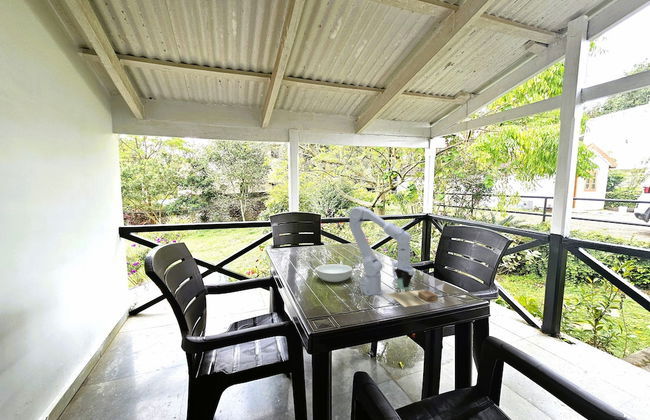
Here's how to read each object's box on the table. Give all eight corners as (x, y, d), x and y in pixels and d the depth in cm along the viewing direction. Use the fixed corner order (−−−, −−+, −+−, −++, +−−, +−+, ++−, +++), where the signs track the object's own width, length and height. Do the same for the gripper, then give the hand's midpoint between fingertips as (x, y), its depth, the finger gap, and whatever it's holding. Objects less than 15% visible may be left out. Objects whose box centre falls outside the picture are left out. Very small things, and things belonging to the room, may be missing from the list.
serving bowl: (357, 277, 162) (357, 265, 162) (343, 288, 144) (343, 275, 143) (326, 272, 172) (326, 262, 172) (309, 282, 154) (309, 270, 153)
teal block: (402, 289, 128) (402, 281, 127) (397, 286, 132) (397, 278, 131) (409, 288, 129) (409, 280, 128) (405, 285, 133) (405, 277, 132)
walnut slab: (426, 301, 123) (426, 296, 123) (418, 297, 129) (418, 291, 129) (437, 300, 125) (437, 295, 125) (429, 295, 130) (429, 290, 130)
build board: (404, 308, 118) (404, 306, 118) (387, 294, 134) (387, 293, 134) (444, 302, 123) (444, 301, 123) (422, 290, 139) (422, 289, 139)
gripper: (420, 260, 123) (419, 289, 124) (403, 253, 137) (402, 280, 138) (406, 261, 121) (406, 291, 122) (390, 254, 135) (390, 281, 136)
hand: (403, 285), depth 130 cm, fingers closed on teal block, 4 cm apart
